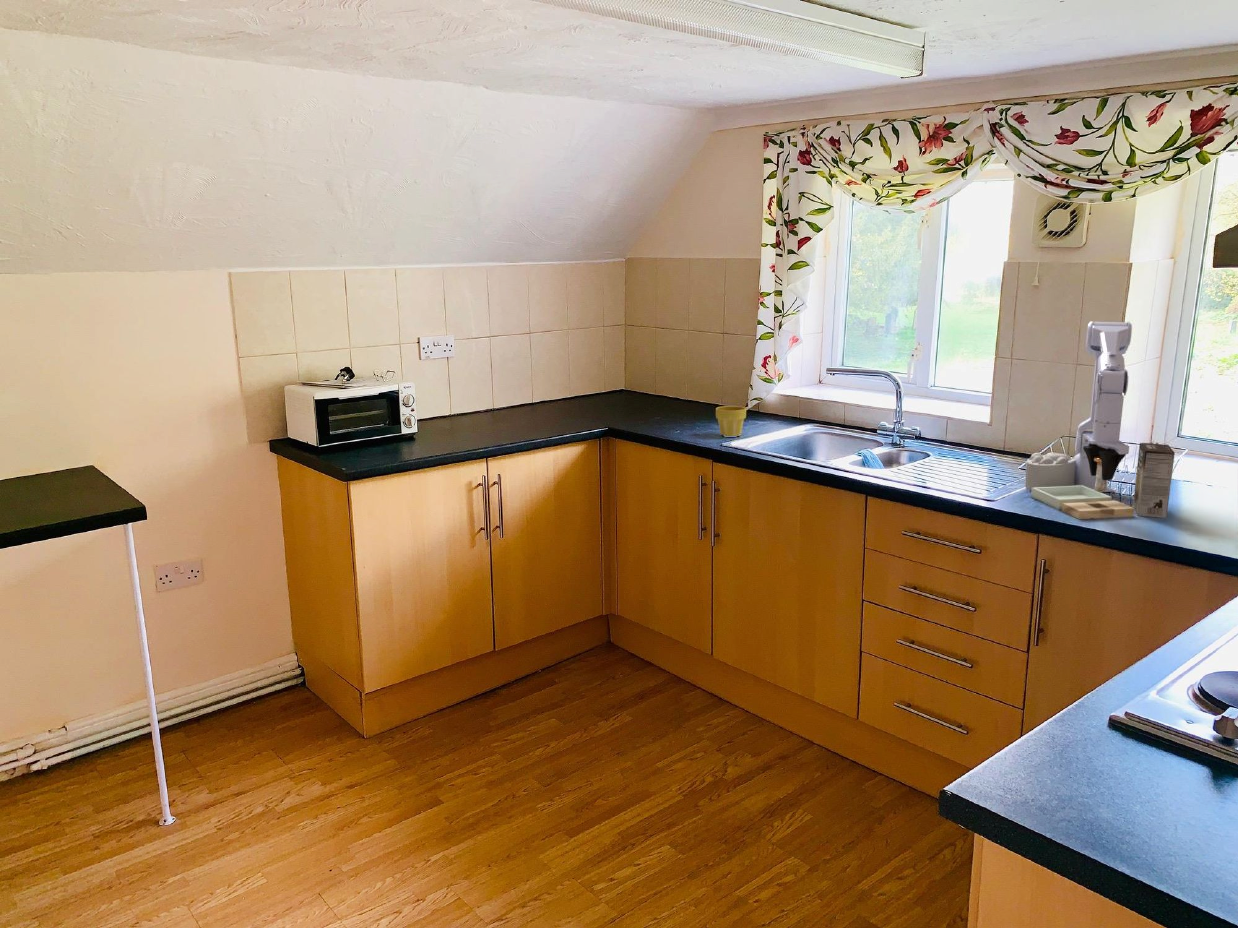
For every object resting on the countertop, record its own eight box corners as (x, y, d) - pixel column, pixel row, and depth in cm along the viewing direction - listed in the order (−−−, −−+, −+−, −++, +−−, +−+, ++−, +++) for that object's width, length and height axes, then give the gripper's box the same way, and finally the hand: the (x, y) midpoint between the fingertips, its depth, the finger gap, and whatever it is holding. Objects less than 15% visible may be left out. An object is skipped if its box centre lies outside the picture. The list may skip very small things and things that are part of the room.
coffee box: (1131, 506, 233) (1139, 442, 230) (1161, 508, 231) (1169, 444, 227) (1136, 515, 225) (1144, 449, 221) (1167, 518, 223) (1175, 451, 219)
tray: (1030, 497, 242) (1031, 487, 242) (1081, 494, 244) (1082, 485, 244) (1058, 509, 231) (1059, 499, 230) (1110, 506, 233) (1112, 497, 232)
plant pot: (710, 434, 327) (710, 406, 325) (738, 432, 330) (738, 404, 328) (722, 440, 318) (723, 411, 315) (750, 437, 321) (751, 409, 318)
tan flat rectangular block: (1061, 511, 229) (1062, 503, 229) (1114, 508, 231) (1115, 500, 231) (1079, 519, 223) (1080, 511, 222) (1133, 516, 225) (1134, 508, 224)
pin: (1087, 489, 227) (1090, 456, 226) (1102, 488, 228) (1105, 455, 226) (1097, 493, 224) (1100, 460, 222) (1113, 492, 224) (1116, 459, 222)
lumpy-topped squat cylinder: (1080, 486, 251) (1081, 454, 249) (1049, 494, 245) (1051, 462, 243) (1044, 479, 260) (1046, 448, 258) (1014, 487, 253) (1016, 455, 251)
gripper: (1073, 416, 228) (1067, 471, 231) (1111, 427, 214) (1105, 485, 217) (1099, 415, 229) (1094, 470, 232) (1139, 426, 215) (1133, 484, 218)
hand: (1101, 477), depth 225 cm, fingers closed on pin, 4 cm apart
